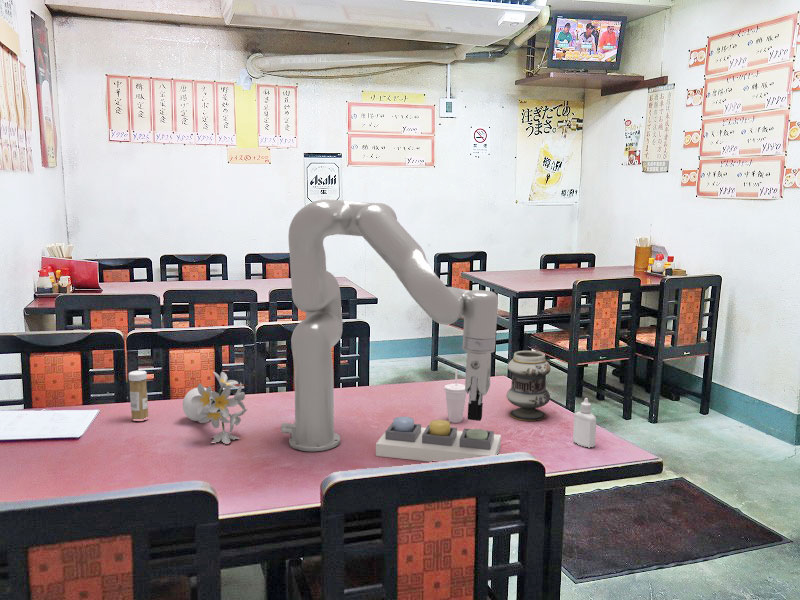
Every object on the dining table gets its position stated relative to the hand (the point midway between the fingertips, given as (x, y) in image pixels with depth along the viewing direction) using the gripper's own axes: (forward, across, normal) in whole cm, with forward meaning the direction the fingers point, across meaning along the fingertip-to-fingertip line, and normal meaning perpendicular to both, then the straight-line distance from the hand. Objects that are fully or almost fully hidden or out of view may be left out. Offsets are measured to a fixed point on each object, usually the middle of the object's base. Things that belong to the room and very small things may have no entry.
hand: (474, 419), depth 157 cm
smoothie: (+9, +23, +8) cm, 26 cm away
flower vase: (+11, -2, +68) cm, 69 cm away
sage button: (+6, 0, -1) cm, 6 cm away
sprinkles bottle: (+12, 0, +91) cm, 92 cm away
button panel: (+9, 0, +8) cm, 12 cm away
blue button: (+5, 0, +17) cm, 18 cm away
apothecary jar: (+9, +33, -11) cm, 36 cm away
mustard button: (+5, 0, +8) cm, 9 cm away
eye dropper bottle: (+8, +14, -26) cm, 31 cm away
